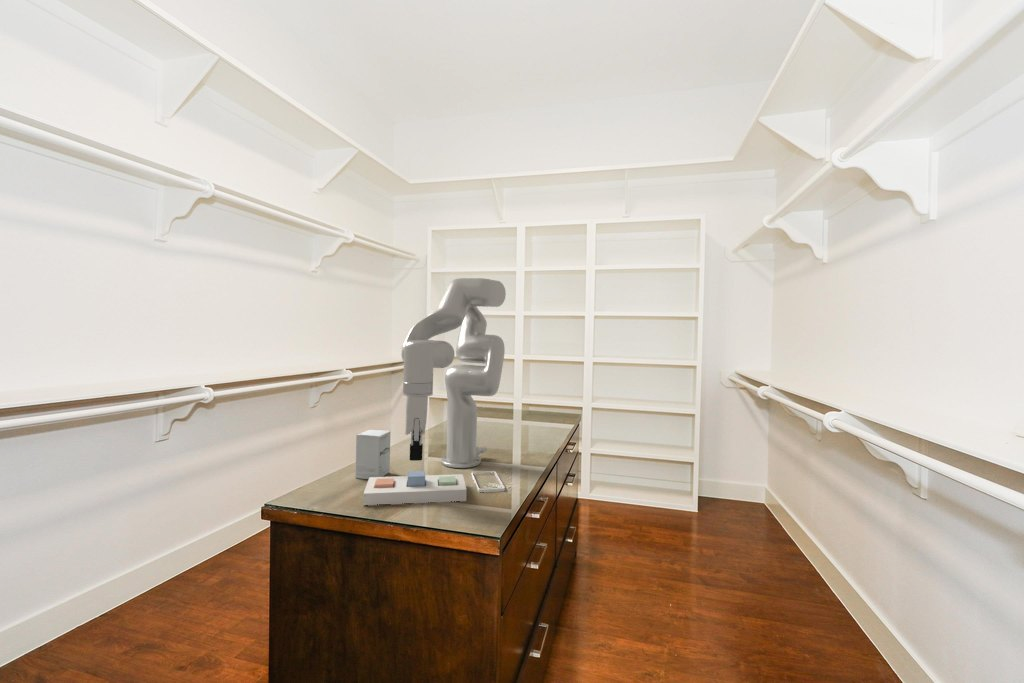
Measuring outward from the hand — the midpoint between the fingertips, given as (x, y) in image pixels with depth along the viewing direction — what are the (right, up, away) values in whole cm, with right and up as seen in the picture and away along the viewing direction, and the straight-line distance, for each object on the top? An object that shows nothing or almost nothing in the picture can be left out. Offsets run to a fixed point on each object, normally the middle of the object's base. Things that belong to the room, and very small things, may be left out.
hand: (415, 459), depth 121 cm
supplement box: (-16, -9, +15) cm, 23 cm away
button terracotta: (-8, -9, -1) cm, 12 cm away
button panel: (0, -9, +1) cm, 9 cm away
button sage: (+8, -9, +2) cm, 12 cm away
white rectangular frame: (+18, -10, +12) cm, 24 cm away
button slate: (0, -7, +1) cm, 7 cm away
